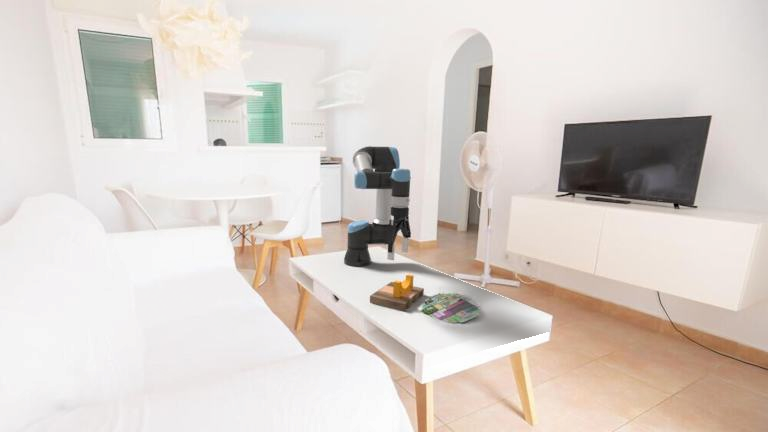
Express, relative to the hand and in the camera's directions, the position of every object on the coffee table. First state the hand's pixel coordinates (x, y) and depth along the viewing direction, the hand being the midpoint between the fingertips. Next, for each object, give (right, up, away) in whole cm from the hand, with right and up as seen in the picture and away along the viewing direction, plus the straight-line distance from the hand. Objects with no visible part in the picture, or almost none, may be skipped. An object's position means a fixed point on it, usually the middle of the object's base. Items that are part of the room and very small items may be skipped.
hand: (397, 255), depth 158 cm
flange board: (0, -19, +2) cm, 19 cm away
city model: (+20, -22, -8) cm, 31 cm away
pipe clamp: (+2, -16, +1) cm, 16 cm away
